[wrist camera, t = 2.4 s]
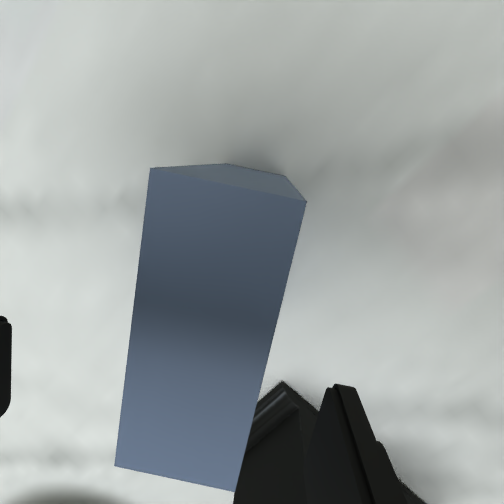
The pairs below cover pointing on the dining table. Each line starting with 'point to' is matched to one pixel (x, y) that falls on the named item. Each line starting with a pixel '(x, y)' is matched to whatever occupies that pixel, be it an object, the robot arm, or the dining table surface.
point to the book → (204, 318)
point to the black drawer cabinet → (280, 451)
